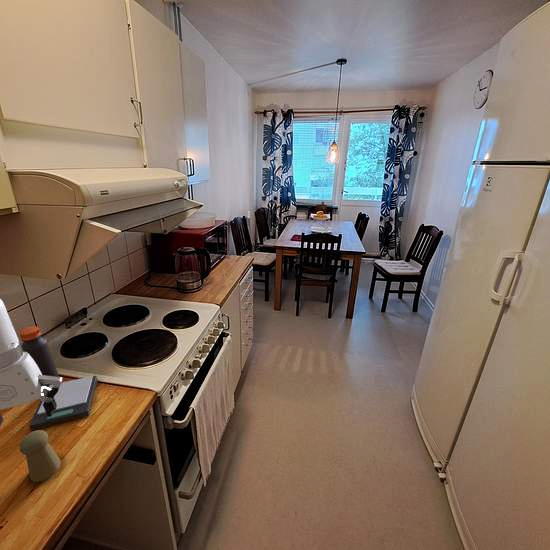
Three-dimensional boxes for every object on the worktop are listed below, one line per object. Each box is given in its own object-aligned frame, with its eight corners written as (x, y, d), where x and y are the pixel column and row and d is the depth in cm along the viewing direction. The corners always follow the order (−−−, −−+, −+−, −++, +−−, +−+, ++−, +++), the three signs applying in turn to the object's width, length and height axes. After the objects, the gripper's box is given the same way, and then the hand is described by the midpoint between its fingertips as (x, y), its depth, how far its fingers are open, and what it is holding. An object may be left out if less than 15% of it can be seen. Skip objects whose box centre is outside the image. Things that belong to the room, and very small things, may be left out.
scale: (31, 431, 79) (28, 424, 78) (48, 391, 93) (46, 385, 92) (89, 416, 84) (87, 409, 83) (97, 379, 98) (96, 374, 97)
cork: (23, 476, 68) (8, 444, 64) (49, 453, 73) (37, 422, 69) (40, 485, 66) (26, 453, 62) (66, 461, 71) (54, 430, 67)
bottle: (42, 390, 93) (23, 338, 86) (29, 384, 96) (9, 333, 88) (63, 376, 99) (47, 327, 92) (50, 371, 102) (33, 323, 94)
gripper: (-73, 380, 51) (-34, 447, 57) (43, 356, 57) (67, 419, 63) (-48, 355, 57) (-16, 418, 64) (54, 336, 63) (75, 395, 70)
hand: (26, 418), depth 64 cm, fingers open, 9 cm apart
